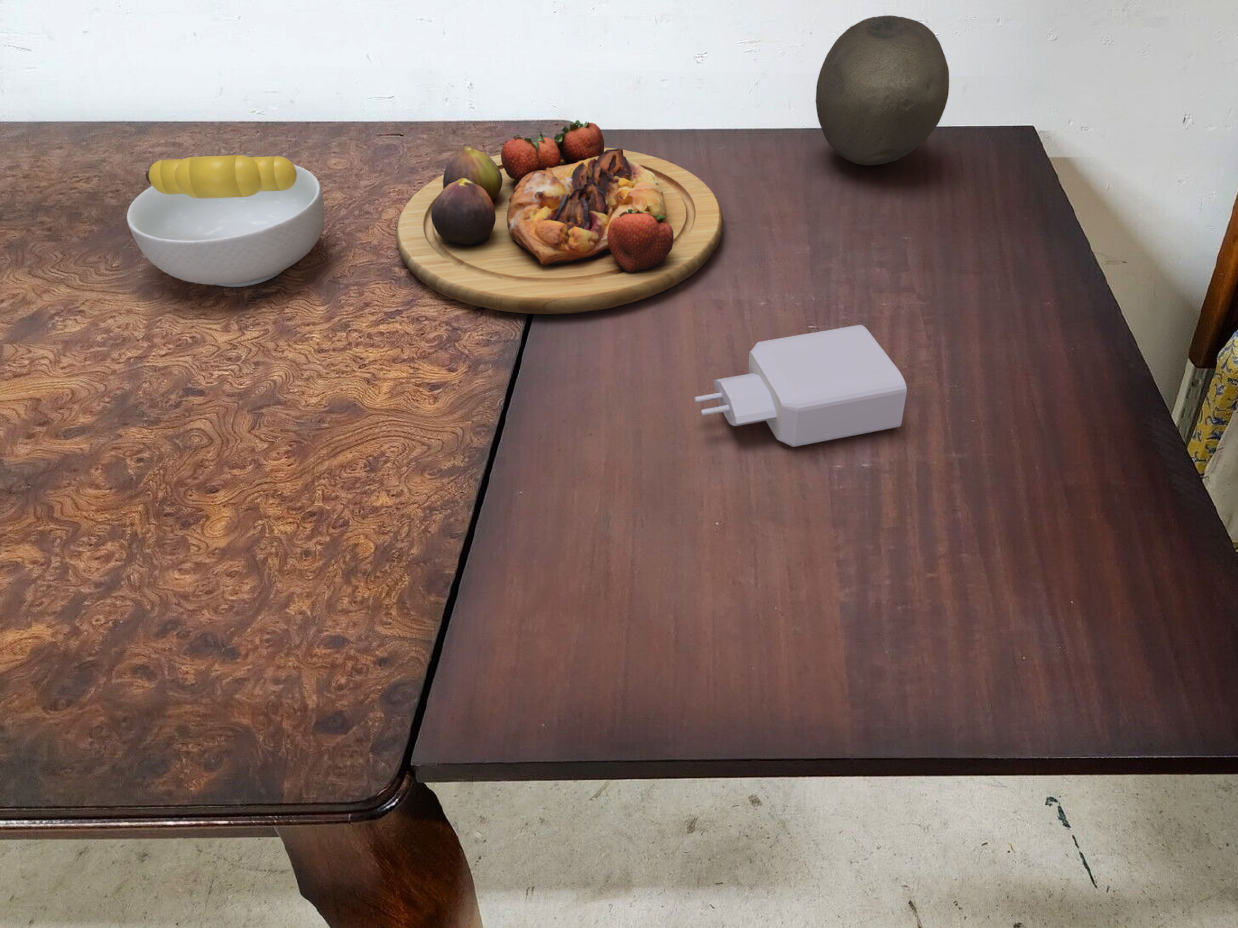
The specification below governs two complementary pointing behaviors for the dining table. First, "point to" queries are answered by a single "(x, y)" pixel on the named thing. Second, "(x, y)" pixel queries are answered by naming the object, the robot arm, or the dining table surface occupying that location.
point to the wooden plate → (558, 225)
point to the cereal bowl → (229, 232)
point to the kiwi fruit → (882, 89)
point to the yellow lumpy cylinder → (222, 176)
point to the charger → (815, 387)
